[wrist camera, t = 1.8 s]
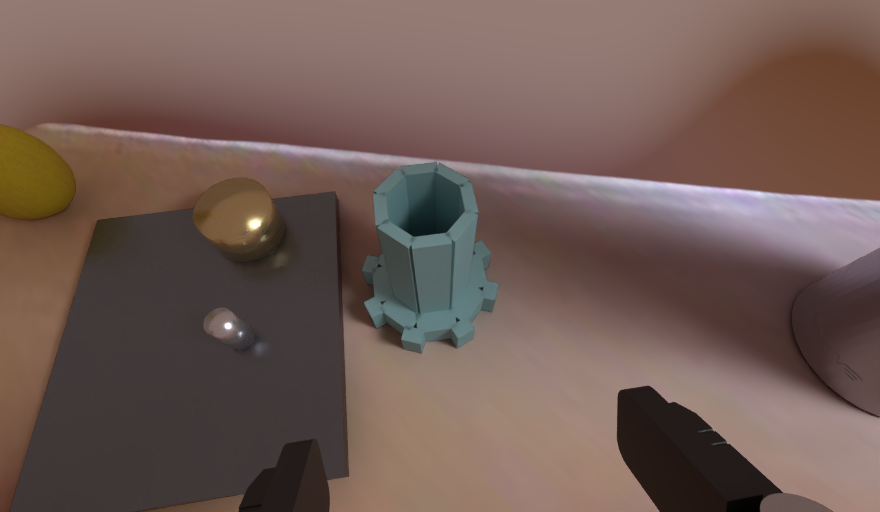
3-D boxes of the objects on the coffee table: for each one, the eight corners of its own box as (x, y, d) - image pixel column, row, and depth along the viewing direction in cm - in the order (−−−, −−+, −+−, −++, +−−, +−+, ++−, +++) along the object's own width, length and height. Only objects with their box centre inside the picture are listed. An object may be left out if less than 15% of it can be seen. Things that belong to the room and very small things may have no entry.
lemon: (8, 238, 30) (-122, 165, 23) (45, 179, 33) (-62, 98, 26) (82, 240, 30) (-27, 167, 23) (113, 181, 33) (24, 99, 26)
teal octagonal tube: (479, 229, 30) (494, 127, 22) (505, 341, 26) (537, 270, 18) (363, 244, 30) (331, 146, 21) (372, 361, 26) (335, 298, 17)
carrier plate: (338, 200, 32) (324, 164, 28) (348, 476, 23) (330, 475, 19) (109, 229, 31) (64, 194, 27) (24, 530, 22) (-62, 540, 18)
